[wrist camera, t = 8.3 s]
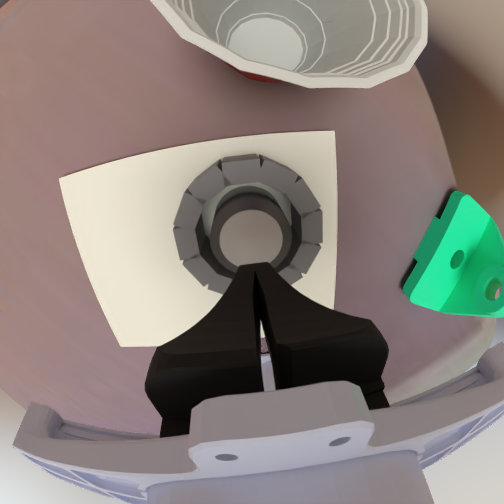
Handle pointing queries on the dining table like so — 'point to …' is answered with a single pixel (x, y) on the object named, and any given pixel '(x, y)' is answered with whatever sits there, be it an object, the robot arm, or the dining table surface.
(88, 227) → the board
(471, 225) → the camera mount
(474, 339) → the dining table surface
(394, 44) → the plastic cup
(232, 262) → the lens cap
